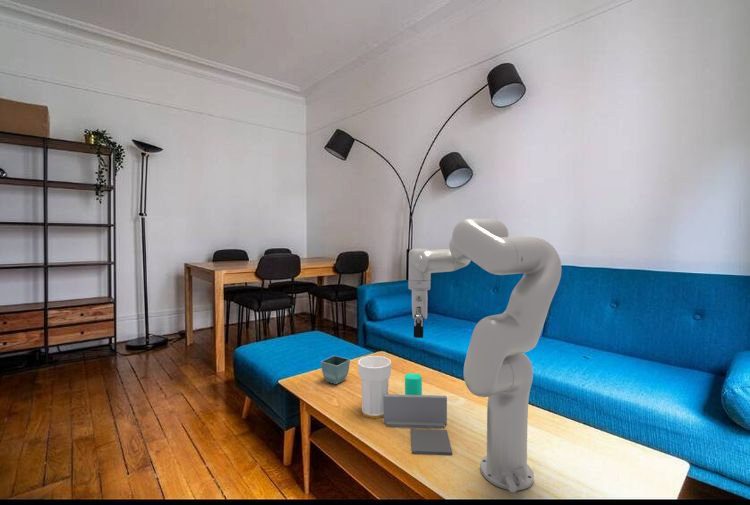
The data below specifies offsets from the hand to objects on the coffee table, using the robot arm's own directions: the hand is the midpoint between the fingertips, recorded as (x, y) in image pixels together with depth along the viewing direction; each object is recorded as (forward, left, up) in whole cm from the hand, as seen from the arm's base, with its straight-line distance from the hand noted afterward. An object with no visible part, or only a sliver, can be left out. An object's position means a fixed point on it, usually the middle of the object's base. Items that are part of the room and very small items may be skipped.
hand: (418, 333), depth 122 cm
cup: (-5, +15, -26) cm, 31 cm away
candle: (0, +2, -26) cm, 26 cm away
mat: (-22, -2, -26) cm, 34 cm away
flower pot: (+18, +33, -26) cm, 46 cm away
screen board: (-12, +2, -26) cm, 29 cm away
